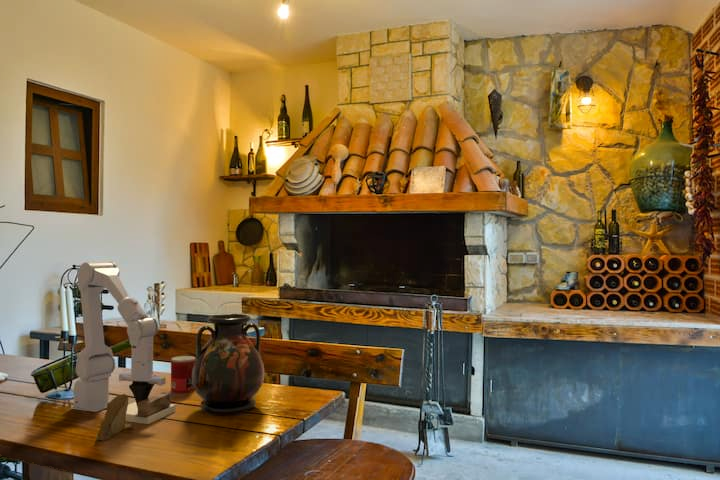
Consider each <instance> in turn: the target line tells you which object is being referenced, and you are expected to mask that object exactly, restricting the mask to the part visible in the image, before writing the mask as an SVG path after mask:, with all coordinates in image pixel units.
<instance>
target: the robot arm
mask: <svg viewBox="0 0 720 480" xmlns="http://www.w3.org/2000/svg"><path fill="white" fill-rule="evenodd" d="M76 274H77V285H78V287H77V288H78V290H79V292H80V300H81V313H82V324H83V335H84V337H83V338H84V345H85V346H84V348H82V350H81V351H80V352H78V354H76V365H75V373H76V375H77V377H78V379H77V380H76V381H75V383H74V384H73V406H71V410H78V411H86V412H92V413H96V412H100V411H103V410H105V409H107V404H108V403H109V399H110V398H109V395H110V394H109V393H110V392H109V391H110V390H109V387H110V384H109V383H110V380H109V379H110V377H112V373H113V372H115V369H116V365H117V364H116V363H117V362H116V360H115V358H114V354H113V349H112V348H110V347H109V346H107V345H106V344H105V334H104V325H103V313H102V303H101V301H102V300H101V293H102V292H103V291H104V290H105V289H106V290H107V291H108V293H109V294H110V295H111V296H112V297H113V299H114V300H115V301H116V303H117V304H118V305H117V311H118V313H119V315H120V316H121V317H122V319H123V321H124V322H125V324H126V325H127V328H126V333H127V337H128V339H129V344H130V346H131V357H130V358H131V361H130V365H131V366H130V370H131V371H130V372H122V373H119V374H118V381H119V382H124V381H125V382H131V384H129V385H128V387H129V390H130V391H131V392H132V395H133V398H134V400H135V402H136V404H137V408H138V402H140V401H143V400H145V399H147V398H149V397H150V393H151V391H152V390H153V388H154V387H155V385H158V386H163V385H166V377H165V376H161V375H157V374H155V373H154V370H153V369H154V337H155V336H156V335H157V333H158V332H159V325H158V321H157V319H156V318H155V317H154V316H153V315H152V316H150V315H149V314H147V313H146V311H144V309H143V308H142V306H141V305H140V303H139V301H138V300H137V299H136V297H135V298H134V297H130V295H129V292H128V291H127V290H126V288H125V286H124V285H123V282H122V281H121V279H120V275H121V274H120V269H119V267H118V265H117V264H116V263H115V262H114V261H107V262H106V261H103V262H83V263H81V265H80V266H79V268H78V269H77V271H76Z"/></svg>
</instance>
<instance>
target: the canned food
mask: <svg viewBox="0 0 720 480" xmlns="http://www.w3.org/2000/svg"><path fill="white" fill-rule="evenodd" d="M195 361H196V356H192V355H191V356H190V355H178V356H174V357H171V360H170V391H171V392H172V393H173V394H187V393H192V392H194V391H195V390H194V388H193V385H192V370H193V365H194V363H195Z"/></svg>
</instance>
